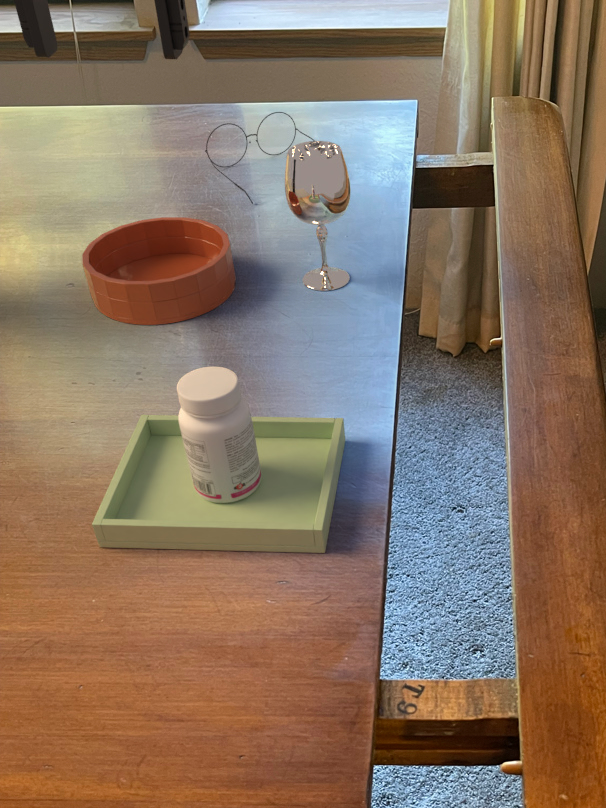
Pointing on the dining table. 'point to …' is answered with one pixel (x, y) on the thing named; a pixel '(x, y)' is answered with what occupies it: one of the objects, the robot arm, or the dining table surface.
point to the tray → (235, 521)
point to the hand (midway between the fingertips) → (110, 55)
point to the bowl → (159, 270)
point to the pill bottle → (218, 435)
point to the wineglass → (318, 200)
